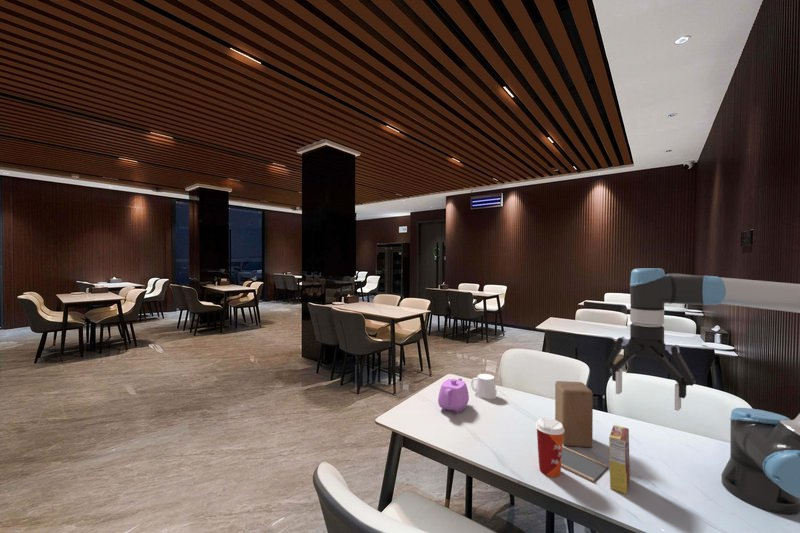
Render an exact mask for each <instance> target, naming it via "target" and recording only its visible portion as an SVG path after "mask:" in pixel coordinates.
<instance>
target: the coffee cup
mask: <svg viewBox="0 0 800 533" xmlns="http://www.w3.org/2000/svg"><path fill="white" fill-rule="evenodd" d="M535 428H536V435H537V436H536V437H537V454H538V455H537V456H538V466H539V467H538V468H539V471H540V472H541V473H542V475H544V476H547V477H550V478H558V477H559V476H560V475H561V471H562V470H561V469H562V467H561V459H562V446H563V433H564V431H565V430H564V428H563V425H562V424H561V423H560V422H558V421H556V420H555V419H553V418H549V417H544V418H543V417H542V418H538V419H537V421H536V423H535Z"/></svg>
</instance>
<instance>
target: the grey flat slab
mask: <svg viewBox="0 0 800 533" xmlns="http://www.w3.org/2000/svg"><path fill="white" fill-rule="evenodd" d="M608 468H609V465H608V464H605V463H603V462H601V461H599V460H596V459H594V458H591V457H589V456H587V455H586V454H585V455H584V454H583V453H580V452H577V451H575V450H573V449H571V448H569V447H566V446H565V445H562V459H561V469H564V470H567V471H568V472H571V473H572V474H575V475H577V476H579V477H581V478H583V479H585V480H588V481H589V482H591V483H596V480H598V479H599V477H601V476H602V475H603V473H605V472H606V471H607V470H608Z"/></svg>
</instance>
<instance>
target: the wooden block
mask: <svg viewBox="0 0 800 533" xmlns="http://www.w3.org/2000/svg"><path fill="white" fill-rule="evenodd" d="M554 387H555V388H554V389H555V391H554V392H555V393H554V399H555V400H554V402H555V403H554V404H555V406H554V408H555V409H554V411H555V413H554V416H555V419H554V420H556V421H558V422H560V423H561V424H562V425H563V428H564V430H565V431H564V433H563V444H562V446H565V447H566V446H568V447H582V448H593V441H594V440H593V437H594V436H593V430H594V428H593V427H594V424H593V415H594V413H593V410H594V409H593V406H594V402H593V401H594V400H593V398H594V395H593V391H592V390H591V389H590V388H589V387H588V386H586V384H585V383H584V382H582V381H568V380H567V381H566V380H563V381H561V380H558V381H555V384H554Z"/></svg>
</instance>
